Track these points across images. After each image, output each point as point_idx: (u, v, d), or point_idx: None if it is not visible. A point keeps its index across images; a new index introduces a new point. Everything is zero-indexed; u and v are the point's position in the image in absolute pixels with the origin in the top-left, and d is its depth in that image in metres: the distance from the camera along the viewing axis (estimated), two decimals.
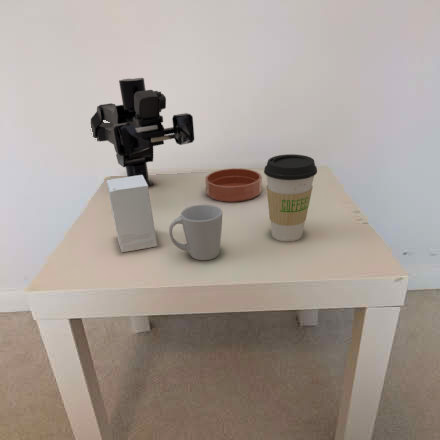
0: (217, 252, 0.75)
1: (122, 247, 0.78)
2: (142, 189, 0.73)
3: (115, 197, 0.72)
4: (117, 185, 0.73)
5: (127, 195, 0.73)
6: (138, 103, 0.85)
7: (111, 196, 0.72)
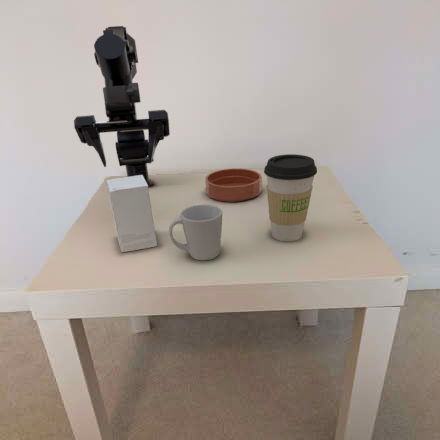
0: (217, 252, 0.75)
1: (122, 247, 0.78)
2: (142, 189, 0.73)
3: (115, 197, 0.72)
4: (117, 185, 0.73)
5: (127, 195, 0.73)
6: (105, 103, 0.76)
7: (111, 196, 0.72)
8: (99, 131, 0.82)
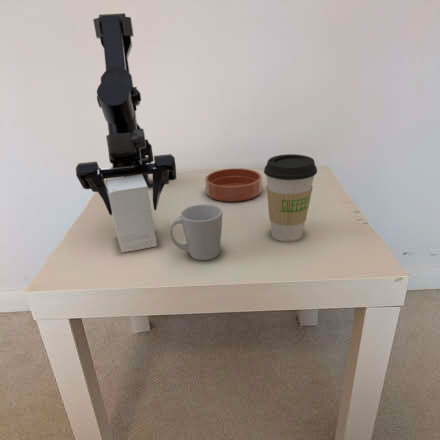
0: (217, 252, 0.75)
1: (122, 247, 0.78)
2: (141, 190, 0.73)
3: (115, 198, 0.72)
4: (116, 186, 0.73)
5: (127, 196, 0.72)
6: None
7: (110, 197, 0.72)
8: (102, 177, 0.77)
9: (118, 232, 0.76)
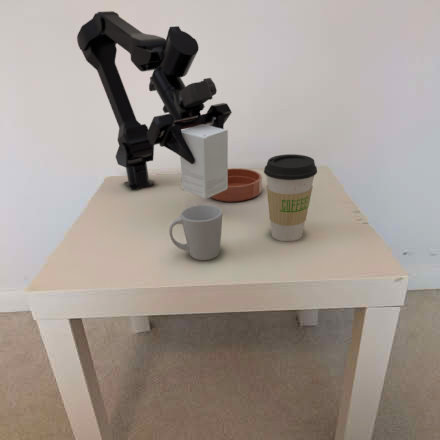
0: (217, 252, 0.75)
1: (206, 193, 0.83)
2: (224, 134, 0.80)
3: (207, 143, 0.77)
4: (202, 133, 0.78)
5: (215, 140, 0.78)
6: (190, 99, 0.76)
7: (205, 142, 0.76)
8: None
9: (205, 178, 0.81)
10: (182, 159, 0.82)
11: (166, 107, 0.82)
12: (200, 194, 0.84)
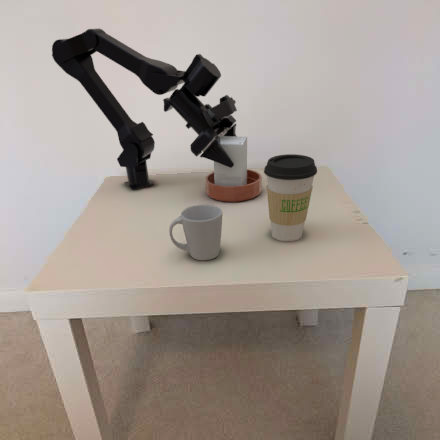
0: (217, 252, 0.75)
1: None
2: (246, 140, 0.97)
3: (244, 148, 0.93)
4: (235, 141, 0.94)
5: (245, 145, 0.95)
6: (225, 113, 0.90)
7: (243, 148, 0.93)
8: None
9: (243, 178, 0.97)
10: (216, 167, 0.96)
11: (192, 123, 0.94)
12: None
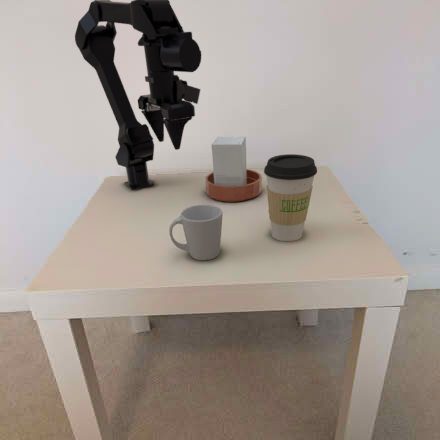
0: (217, 252, 0.75)
1: None
2: (245, 140, 0.97)
3: (242, 148, 0.93)
4: (233, 142, 0.94)
5: (244, 145, 0.95)
6: (194, 100, 0.90)
7: (242, 148, 0.93)
8: None
9: (242, 178, 0.97)
10: (216, 167, 0.96)
11: (162, 82, 0.84)
12: None
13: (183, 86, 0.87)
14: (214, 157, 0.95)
